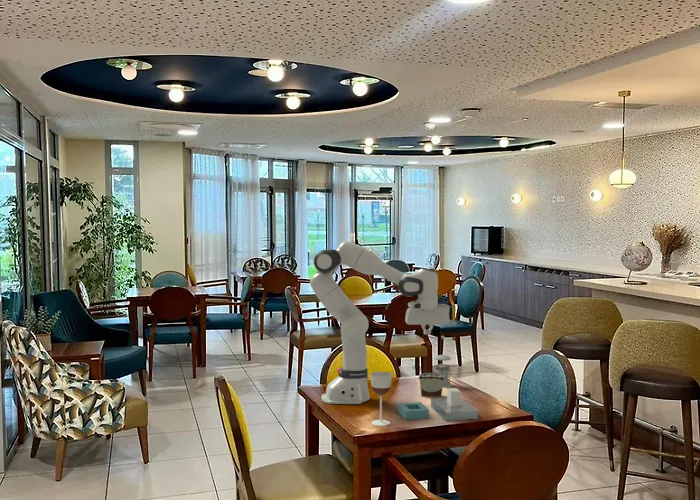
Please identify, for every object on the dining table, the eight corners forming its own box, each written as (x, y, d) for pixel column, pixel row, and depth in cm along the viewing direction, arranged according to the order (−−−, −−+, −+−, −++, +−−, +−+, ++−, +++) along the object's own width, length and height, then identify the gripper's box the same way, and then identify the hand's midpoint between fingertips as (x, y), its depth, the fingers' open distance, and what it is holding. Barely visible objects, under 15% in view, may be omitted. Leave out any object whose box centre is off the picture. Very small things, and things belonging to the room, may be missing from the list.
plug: (450, 414, 264) (451, 391, 263) (447, 411, 268) (447, 388, 268) (459, 414, 264) (460, 391, 264) (455, 410, 269) (456, 388, 269)
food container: (443, 393, 296) (444, 373, 296) (444, 397, 290) (444, 376, 290) (418, 392, 297) (418, 372, 297) (418, 396, 291) (418, 375, 291)
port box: (445, 420, 255) (445, 411, 255) (430, 406, 275) (430, 398, 275) (477, 419, 258) (478, 409, 258) (460, 405, 278) (460, 396, 277)
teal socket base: (404, 419, 257) (405, 411, 256) (397, 411, 268) (397, 403, 268) (429, 418, 259) (429, 410, 258) (421, 410, 270) (421, 402, 270)
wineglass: (367, 420, 255) (368, 372, 254) (388, 419, 257) (388, 371, 256) (373, 426, 248) (373, 377, 247) (393, 425, 250) (394, 375, 249)
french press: (452, 383, 316) (453, 334, 315) (451, 389, 305) (452, 338, 304) (433, 382, 318) (433, 333, 317) (431, 387, 307) (432, 337, 306)
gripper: (447, 302, 288) (446, 332, 288) (404, 303, 284) (404, 333, 285) (452, 304, 282) (451, 335, 282) (408, 305, 278) (407, 335, 279)
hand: (427, 334), depth 283 cm, fingers closed
